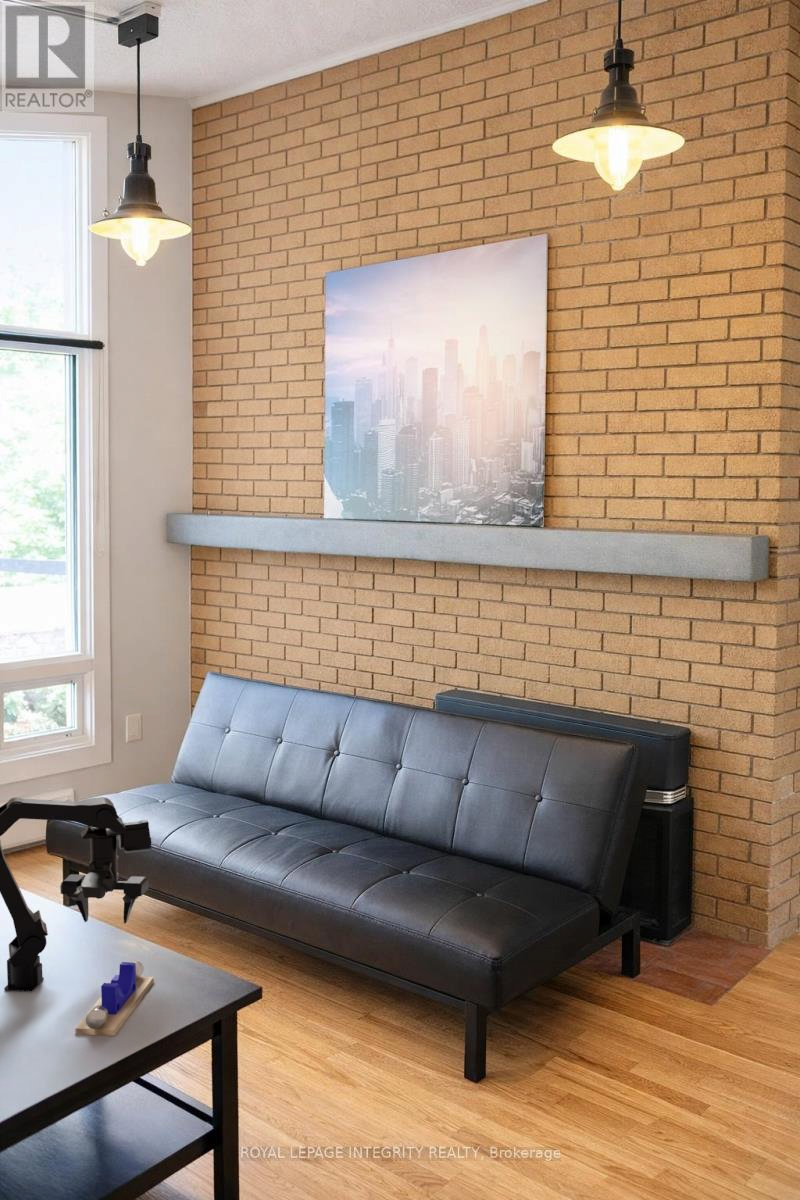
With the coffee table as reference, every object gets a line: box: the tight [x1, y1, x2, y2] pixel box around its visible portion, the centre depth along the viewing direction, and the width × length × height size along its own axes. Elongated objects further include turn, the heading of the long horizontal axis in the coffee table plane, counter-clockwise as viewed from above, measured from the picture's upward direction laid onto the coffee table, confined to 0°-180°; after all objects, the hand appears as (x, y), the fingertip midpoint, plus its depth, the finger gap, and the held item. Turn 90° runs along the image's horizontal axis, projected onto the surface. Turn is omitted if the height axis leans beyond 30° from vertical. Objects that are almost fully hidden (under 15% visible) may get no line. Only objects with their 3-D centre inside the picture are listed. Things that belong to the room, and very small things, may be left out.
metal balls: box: [85, 960, 145, 1029], centre depth 239 cm, size 4×25×4 cm, turn 174°
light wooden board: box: [74, 975, 155, 1037], centre depth 239 cm, size 8×25×1 cm, turn 174°
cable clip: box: [100, 961, 136, 1015], centre depth 239 cm, size 12×4×6 cm, turn 173°
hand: (105, 922), depth 255 cm, fingers open, 9 cm apart
